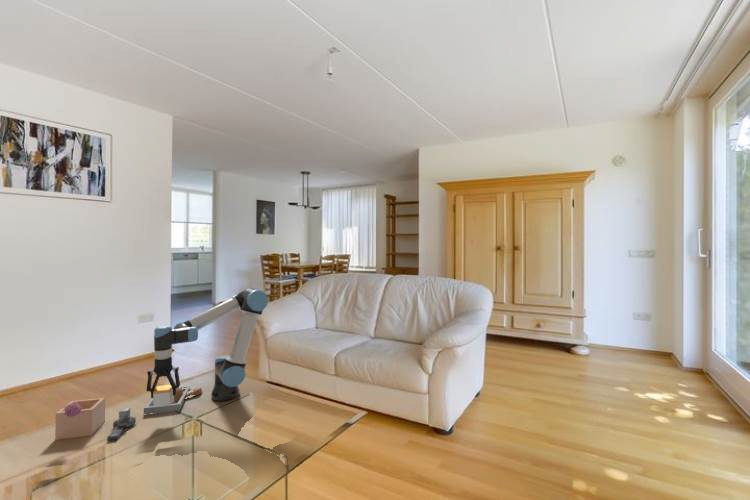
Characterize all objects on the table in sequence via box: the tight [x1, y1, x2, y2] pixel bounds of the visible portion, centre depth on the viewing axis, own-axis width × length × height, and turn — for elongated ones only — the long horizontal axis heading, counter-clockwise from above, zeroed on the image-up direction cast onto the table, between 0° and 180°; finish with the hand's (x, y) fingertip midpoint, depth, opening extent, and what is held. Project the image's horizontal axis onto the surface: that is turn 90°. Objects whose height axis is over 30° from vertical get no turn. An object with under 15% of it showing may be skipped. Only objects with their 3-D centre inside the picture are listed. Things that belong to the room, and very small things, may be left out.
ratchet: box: [106, 407, 136, 442], centre depth 168 cm, size 9×19×8 cm, turn 18°
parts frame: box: [143, 385, 191, 415], centre depth 199 cm, size 17×27×4 cm, turn 18°
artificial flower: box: [63, 402, 83, 417], centre depth 163 cm, size 7×7×25 cm
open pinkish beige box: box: [54, 397, 106, 441], centre depth 169 cm, size 14×14×12 cm
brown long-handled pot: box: [172, 386, 203, 404], centre depth 205 cm, size 18×8×7 cm, turn 135°
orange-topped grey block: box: [153, 384, 172, 407], centre depth 177 cm, size 7×7×8 cm
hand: (163, 402), depth 177 cm, fingers closed on orange-topped grey block, 7 cm apart
